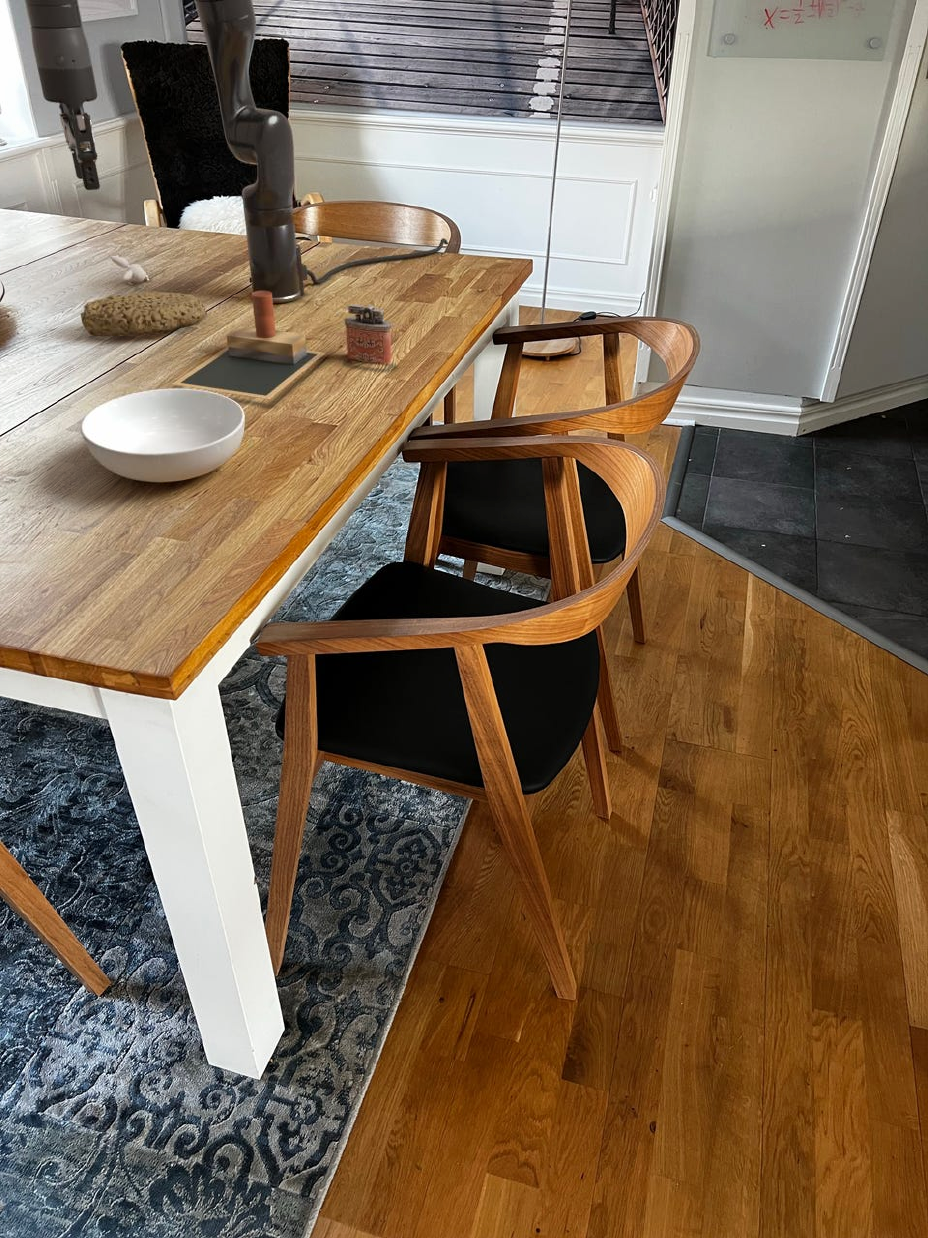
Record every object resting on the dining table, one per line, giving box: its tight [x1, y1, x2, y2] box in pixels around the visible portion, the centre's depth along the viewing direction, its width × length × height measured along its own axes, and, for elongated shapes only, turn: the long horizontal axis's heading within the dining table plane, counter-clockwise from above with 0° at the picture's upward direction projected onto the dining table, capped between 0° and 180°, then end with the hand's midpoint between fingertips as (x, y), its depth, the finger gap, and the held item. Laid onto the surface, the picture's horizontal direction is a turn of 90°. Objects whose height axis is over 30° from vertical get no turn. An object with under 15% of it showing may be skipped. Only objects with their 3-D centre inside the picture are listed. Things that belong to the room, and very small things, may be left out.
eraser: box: [226, 291, 308, 365], centre depth 157 cm, size 12×5×10 cm, turn 72°
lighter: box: [344, 303, 393, 372], centre depth 157 cm, size 8×3×10 cm, turn 71°
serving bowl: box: [80, 388, 246, 483], centre depth 127 cm, size 21×21×7 cm
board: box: [171, 345, 326, 400], centre depth 156 cm, size 21×17×1 cm
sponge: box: [80, 291, 208, 337], centre depth 170 cm, size 13×8×20 cm
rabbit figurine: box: [110, 255, 150, 286], centre depth 193 cm, size 6×4×8 cm
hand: (88, 183), depth 147 cm, fingers open, 8 cm apart
